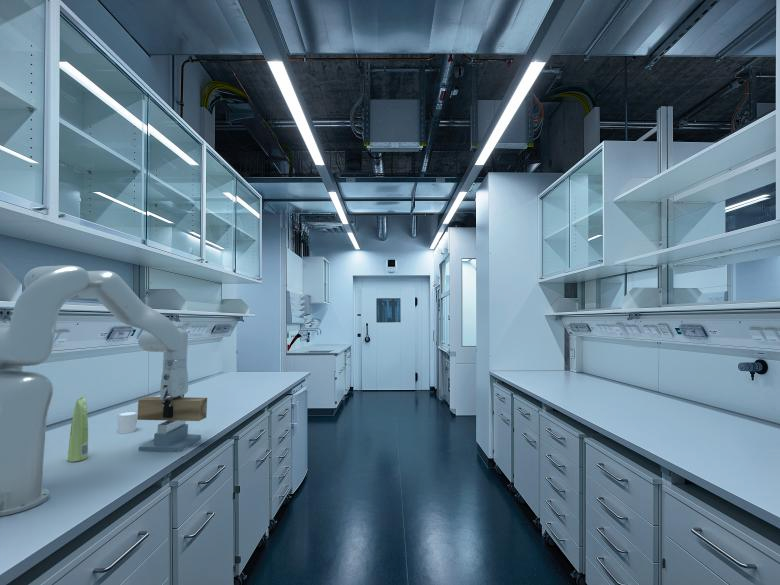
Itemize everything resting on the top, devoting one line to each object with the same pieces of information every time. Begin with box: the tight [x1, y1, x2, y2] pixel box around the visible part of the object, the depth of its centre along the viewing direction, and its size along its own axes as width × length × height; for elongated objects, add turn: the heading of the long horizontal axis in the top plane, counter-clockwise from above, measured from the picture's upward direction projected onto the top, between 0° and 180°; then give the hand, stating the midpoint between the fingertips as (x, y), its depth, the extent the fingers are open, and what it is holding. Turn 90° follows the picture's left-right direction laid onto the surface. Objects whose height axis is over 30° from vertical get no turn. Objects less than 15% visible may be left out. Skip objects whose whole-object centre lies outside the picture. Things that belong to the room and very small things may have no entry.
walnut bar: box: [137, 396, 208, 422], centre depth 137 cm, size 5×22×7 cm, turn 89°
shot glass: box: [116, 411, 138, 435], centre depth 151 cm, size 7×7×7 cm
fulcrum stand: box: [138, 420, 202, 453], centre depth 136 cm, size 14×14×8 cm
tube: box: [67, 395, 89, 463], centre depth 122 cm, size 6×5×20 cm
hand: (172, 415), depth 136 cm, fingers closed on walnut bar, 4 cm apart
